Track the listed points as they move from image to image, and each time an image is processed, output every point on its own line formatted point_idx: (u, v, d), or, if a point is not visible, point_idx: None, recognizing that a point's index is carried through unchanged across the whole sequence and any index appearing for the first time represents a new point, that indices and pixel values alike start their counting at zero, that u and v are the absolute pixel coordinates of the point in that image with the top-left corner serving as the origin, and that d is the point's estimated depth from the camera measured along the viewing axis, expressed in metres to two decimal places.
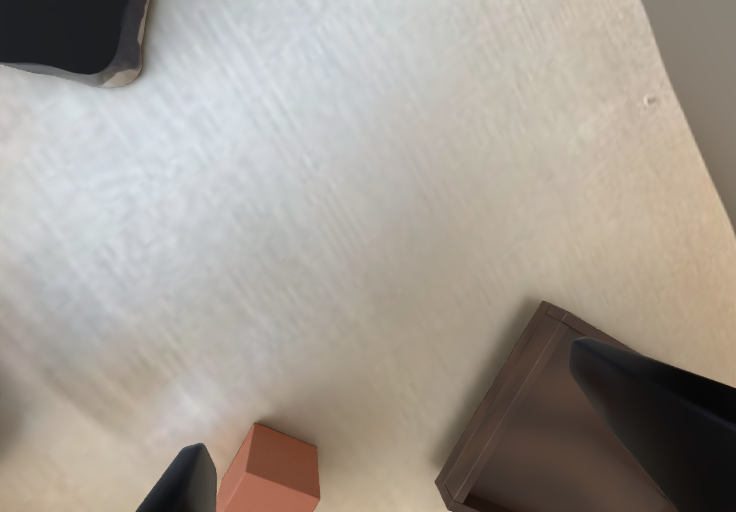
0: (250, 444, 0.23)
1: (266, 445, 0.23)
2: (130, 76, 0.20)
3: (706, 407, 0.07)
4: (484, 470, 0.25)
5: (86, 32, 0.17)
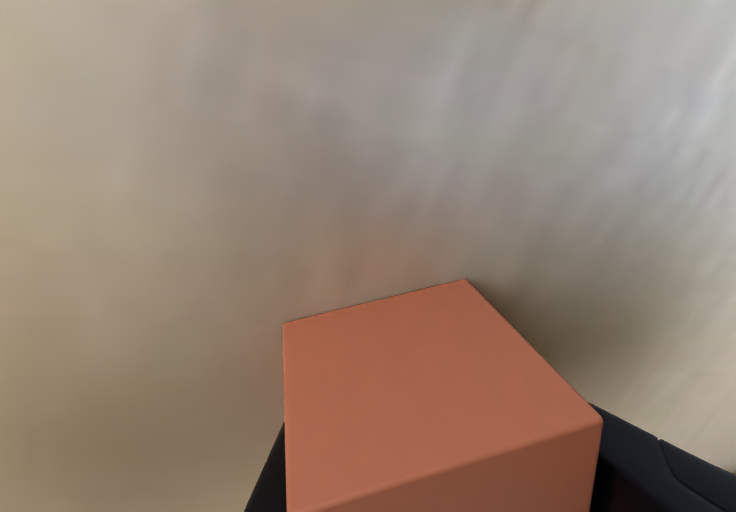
0: (509, 328, 0.08)
1: None
2: None
3: None
4: None
5: None
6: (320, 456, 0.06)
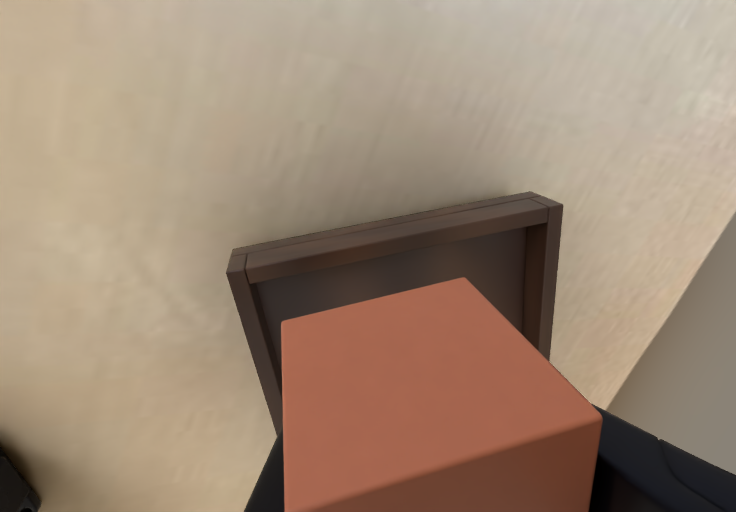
0: (509, 326, 0.08)
1: None
2: None
3: None
4: (301, 288, 0.17)
5: None
6: (318, 453, 0.06)
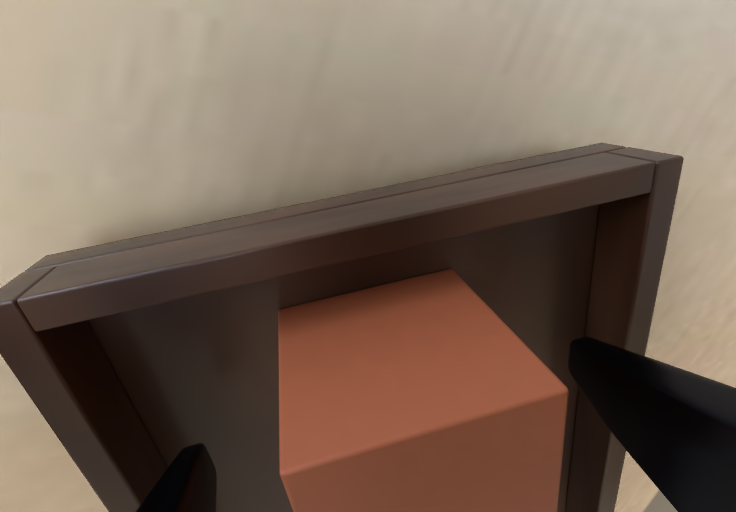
0: (490, 312, 0.08)
1: None
2: None
3: (706, 407, 0.07)
4: (184, 328, 0.09)
5: None
6: (311, 424, 0.06)
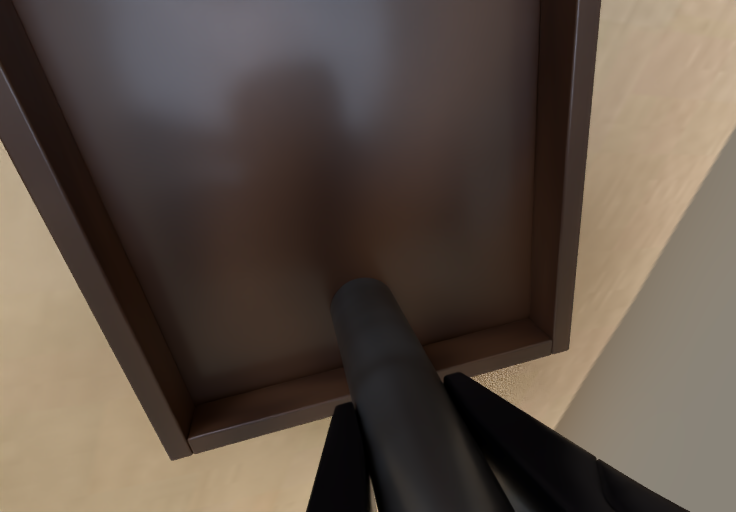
0: None
1: None
2: None
3: (530, 463, 0.06)
4: None
5: None
6: None
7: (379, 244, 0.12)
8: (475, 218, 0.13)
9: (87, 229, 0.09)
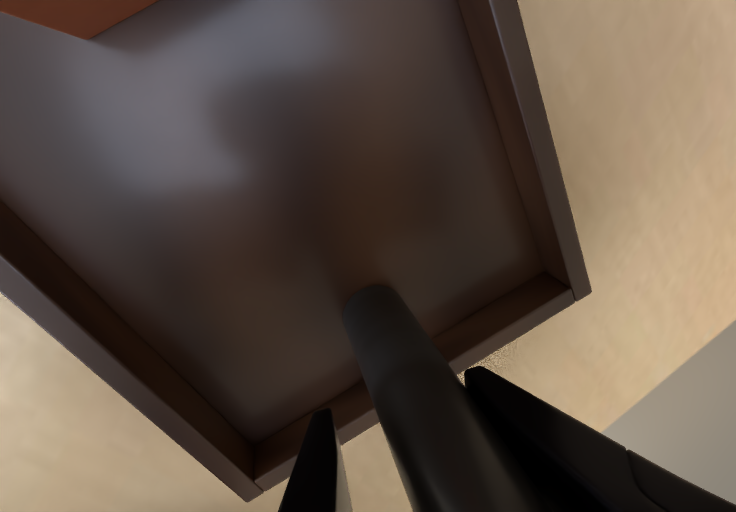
0: None
1: None
2: None
3: (560, 454, 0.06)
4: None
5: None
6: None
7: (369, 252, 0.13)
8: (455, 197, 0.13)
9: (96, 333, 0.10)
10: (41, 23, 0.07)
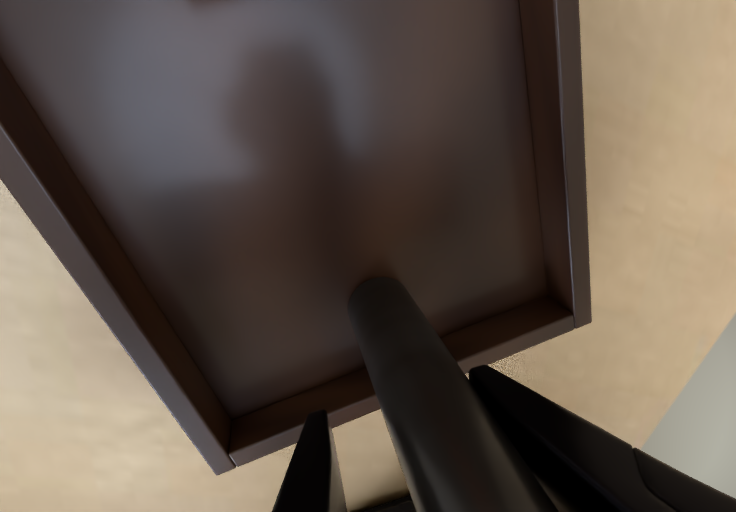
0: None
1: None
2: None
3: (566, 452, 0.06)
4: None
5: None
6: None
7: (387, 243, 0.13)
8: (479, 204, 0.13)
9: (106, 269, 0.10)
10: None
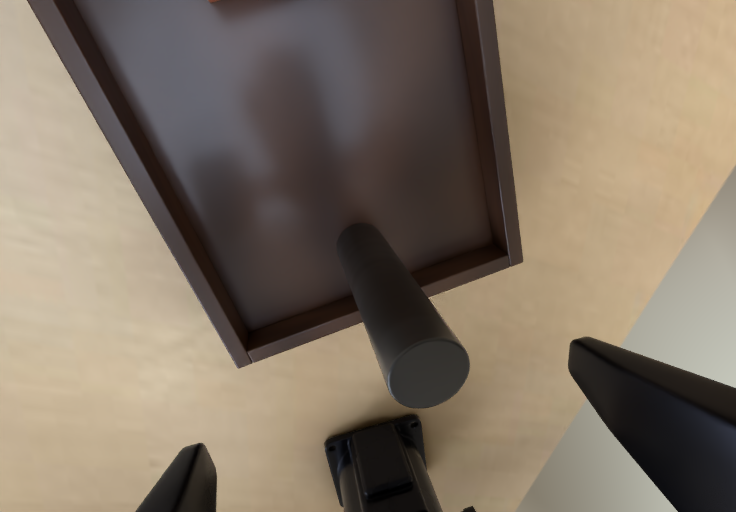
0: None
1: None
2: None
3: (706, 407, 0.07)
4: None
5: None
6: None
7: (366, 196, 0.17)
8: (435, 169, 0.17)
9: (167, 204, 0.14)
10: None
